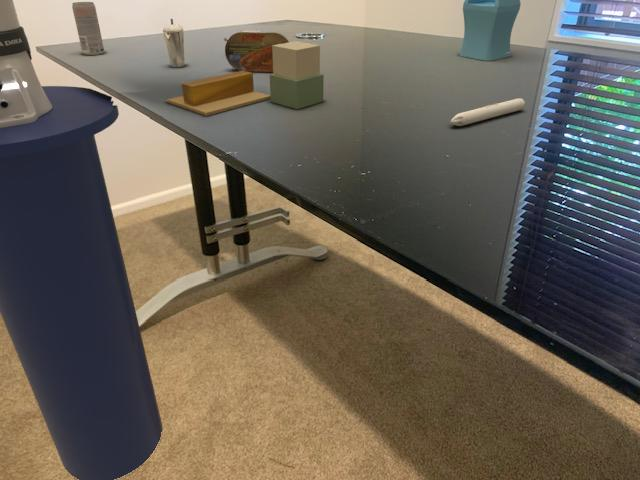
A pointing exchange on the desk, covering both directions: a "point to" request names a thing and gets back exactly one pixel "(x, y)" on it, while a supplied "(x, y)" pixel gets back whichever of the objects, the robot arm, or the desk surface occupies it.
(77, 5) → the energy drink
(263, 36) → the tin
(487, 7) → the vase
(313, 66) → the tower
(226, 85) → the bar
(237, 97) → the mat
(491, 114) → the marker
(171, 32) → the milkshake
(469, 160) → the desk surface
